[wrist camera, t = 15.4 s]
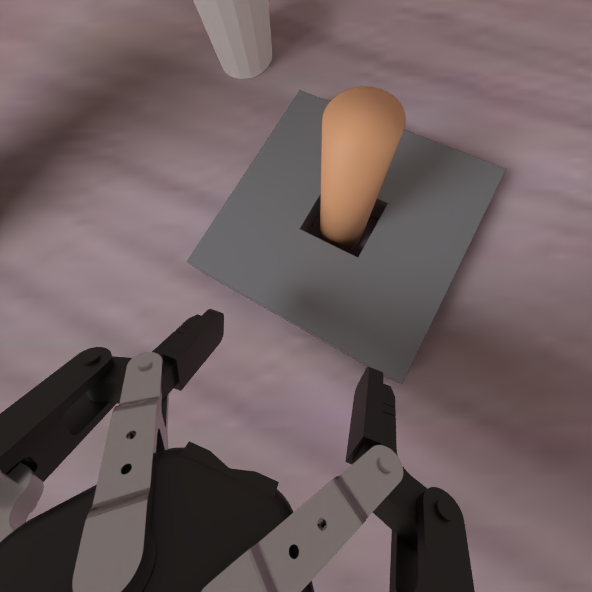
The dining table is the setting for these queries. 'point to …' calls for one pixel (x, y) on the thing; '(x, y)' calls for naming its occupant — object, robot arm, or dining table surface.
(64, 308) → the dining table surface
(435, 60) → the dining table surface
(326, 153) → the peg
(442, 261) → the peg board
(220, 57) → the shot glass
